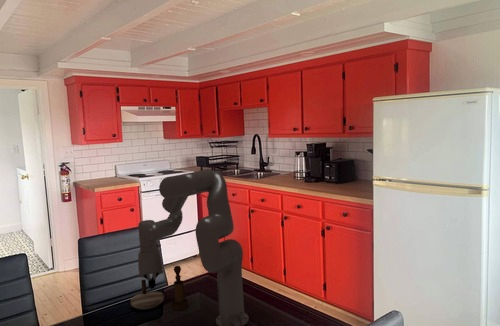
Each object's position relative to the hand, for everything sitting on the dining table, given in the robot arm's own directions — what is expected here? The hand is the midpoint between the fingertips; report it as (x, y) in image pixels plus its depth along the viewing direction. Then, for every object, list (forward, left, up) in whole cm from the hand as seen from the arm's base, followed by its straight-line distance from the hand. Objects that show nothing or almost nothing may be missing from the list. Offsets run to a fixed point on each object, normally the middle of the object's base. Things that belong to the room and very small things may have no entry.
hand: (152, 287), depth 174 cm
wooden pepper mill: (-15, -9, -5) cm, 18 cm away
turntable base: (-5, +3, -5) cm, 8 cm away
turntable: (-5, +3, -4) cm, 7 cm away
